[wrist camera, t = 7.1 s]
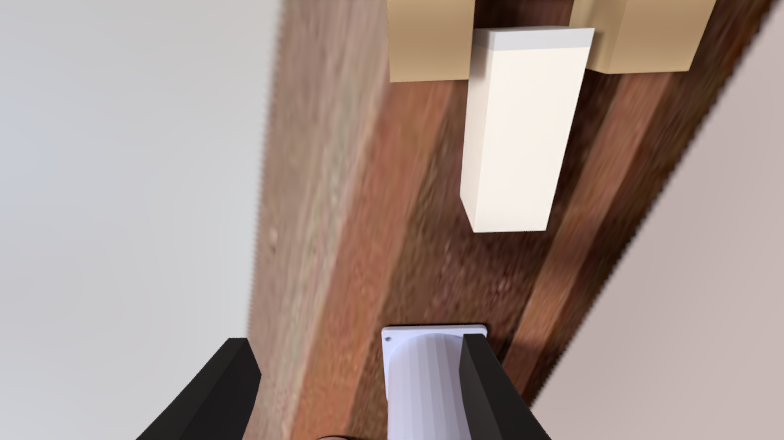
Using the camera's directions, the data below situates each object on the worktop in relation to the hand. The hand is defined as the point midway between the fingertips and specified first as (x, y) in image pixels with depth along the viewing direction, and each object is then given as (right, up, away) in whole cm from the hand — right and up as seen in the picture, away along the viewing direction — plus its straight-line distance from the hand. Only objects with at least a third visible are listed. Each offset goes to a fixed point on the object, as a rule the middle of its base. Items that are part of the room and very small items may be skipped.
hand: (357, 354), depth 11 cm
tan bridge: (+7, +13, +4) cm, 15 cm away
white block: (+7, +10, +6) cm, 13 cm away
